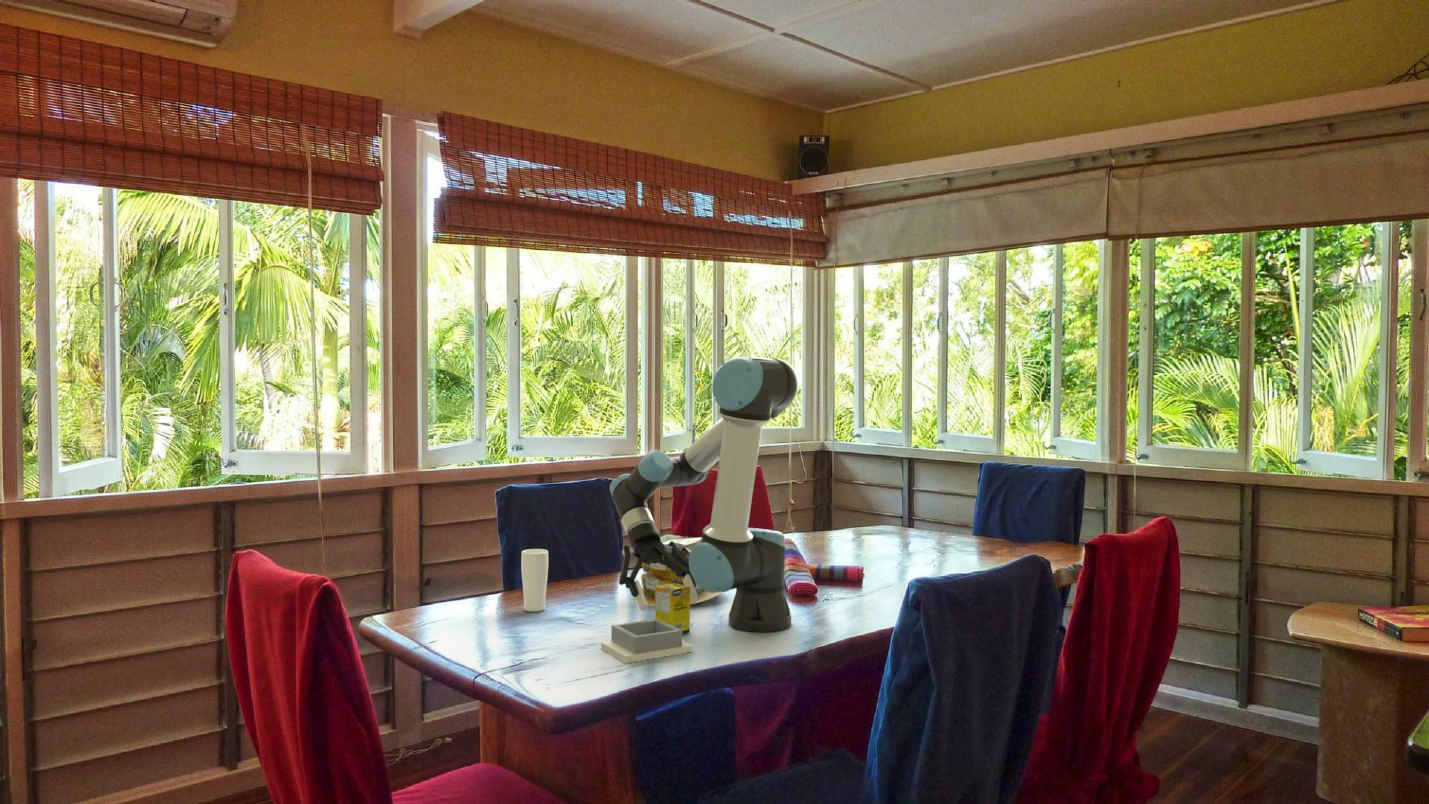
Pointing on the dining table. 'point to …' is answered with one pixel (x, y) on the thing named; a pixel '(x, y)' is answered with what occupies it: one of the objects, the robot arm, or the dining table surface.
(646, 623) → the box holder
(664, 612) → the supplement box
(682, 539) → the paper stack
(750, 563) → the robot arm
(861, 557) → the dining table surface
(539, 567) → the drinking glass
